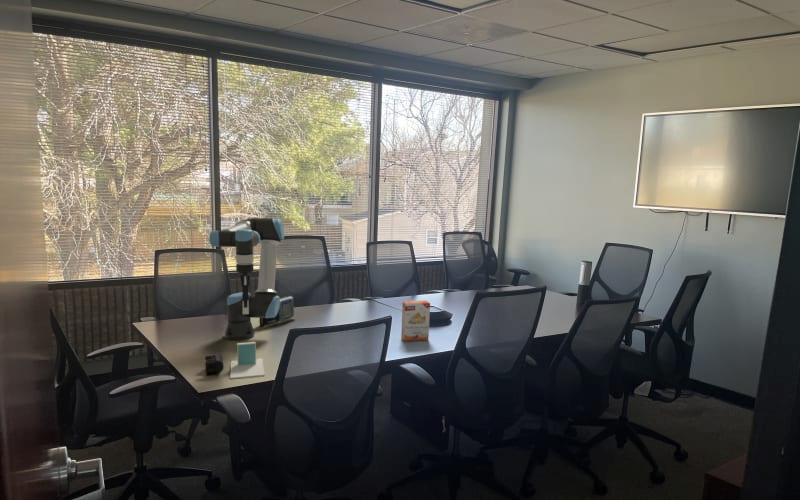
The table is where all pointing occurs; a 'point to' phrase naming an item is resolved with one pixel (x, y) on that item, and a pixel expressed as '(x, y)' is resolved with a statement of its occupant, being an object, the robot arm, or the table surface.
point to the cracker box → (415, 320)
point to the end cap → (213, 364)
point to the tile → (246, 353)
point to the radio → (280, 313)
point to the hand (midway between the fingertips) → (245, 313)
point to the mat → (247, 370)
